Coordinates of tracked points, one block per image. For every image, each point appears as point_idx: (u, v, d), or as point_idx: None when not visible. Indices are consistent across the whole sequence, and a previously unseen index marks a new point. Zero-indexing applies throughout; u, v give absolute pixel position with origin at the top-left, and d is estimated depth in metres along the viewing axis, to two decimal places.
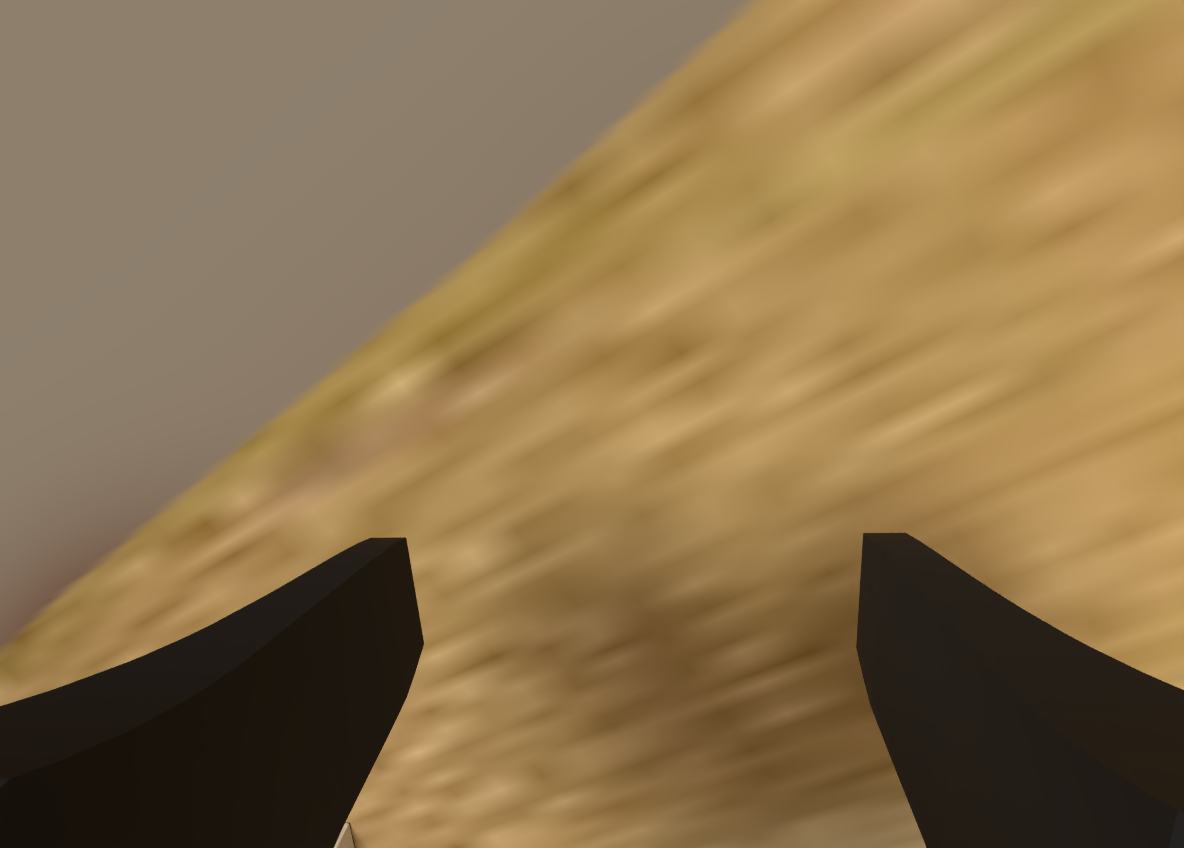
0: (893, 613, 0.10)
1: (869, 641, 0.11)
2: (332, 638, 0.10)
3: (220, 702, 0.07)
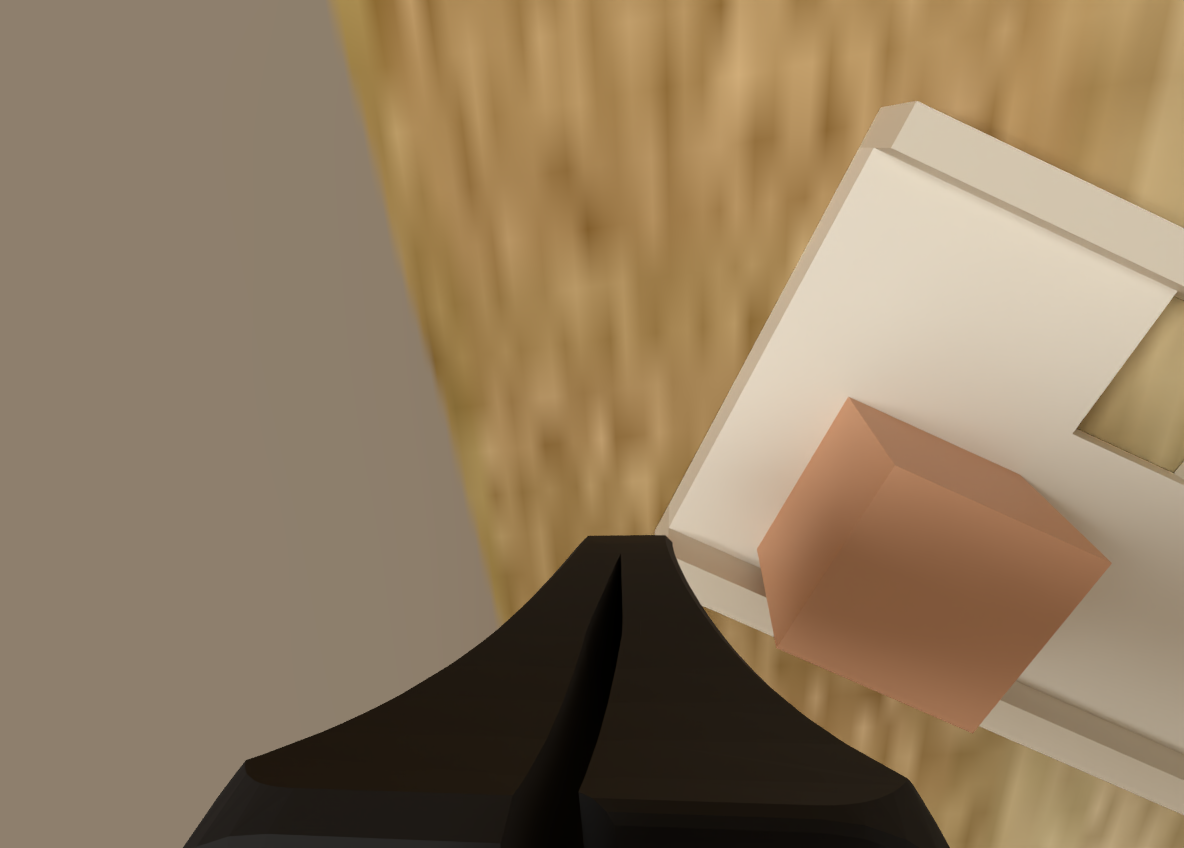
0: None
1: None
2: (603, 640, 0.09)
3: (570, 709, 0.07)
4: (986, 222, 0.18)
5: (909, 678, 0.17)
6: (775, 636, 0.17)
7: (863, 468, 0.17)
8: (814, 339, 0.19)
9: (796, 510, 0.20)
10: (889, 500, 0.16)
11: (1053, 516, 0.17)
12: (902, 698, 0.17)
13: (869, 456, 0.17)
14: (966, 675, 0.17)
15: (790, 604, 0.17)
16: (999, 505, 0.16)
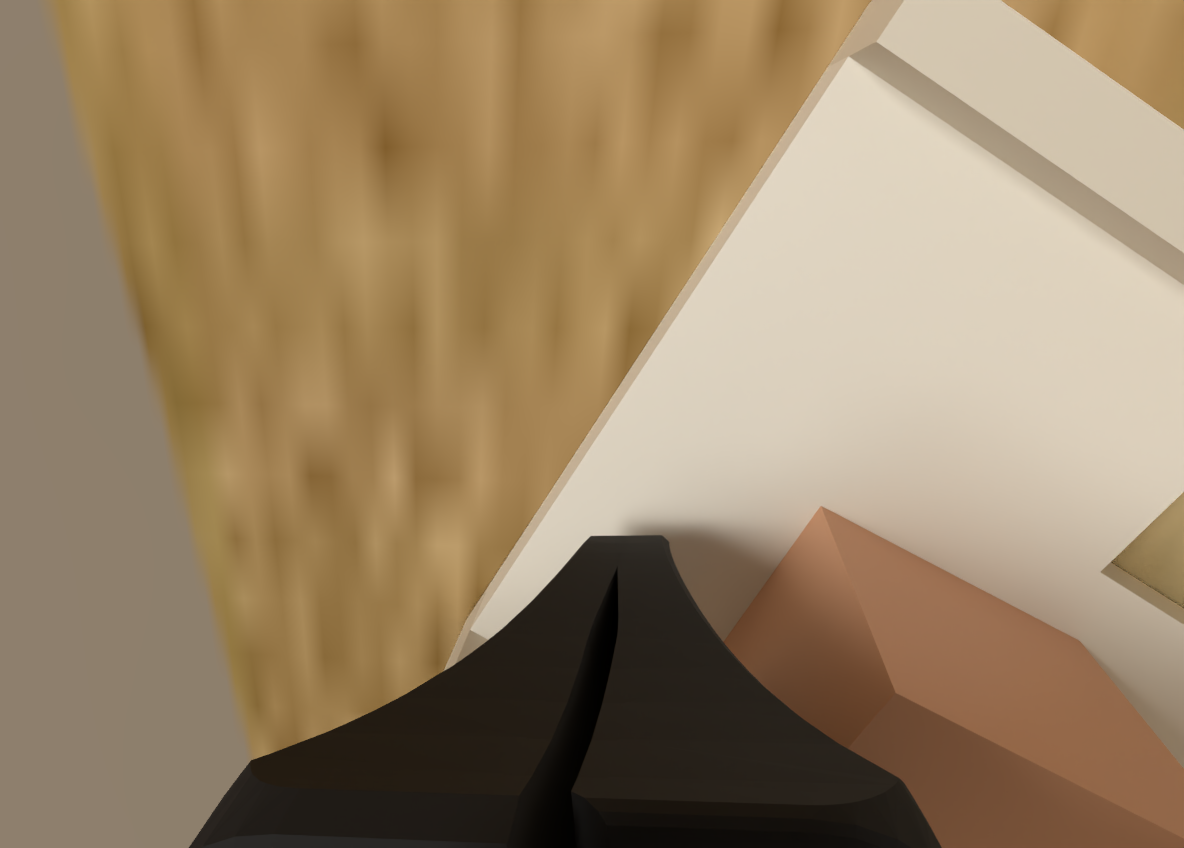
0: None
1: None
2: (606, 640, 0.09)
3: (574, 709, 0.07)
4: (1019, 214, 0.10)
5: None
6: None
7: (837, 663, 0.09)
8: (717, 372, 0.12)
9: None
10: (880, 749, 0.08)
11: (1155, 756, 0.10)
12: None
13: (847, 642, 0.09)
14: None
15: None
16: (1077, 759, 0.09)
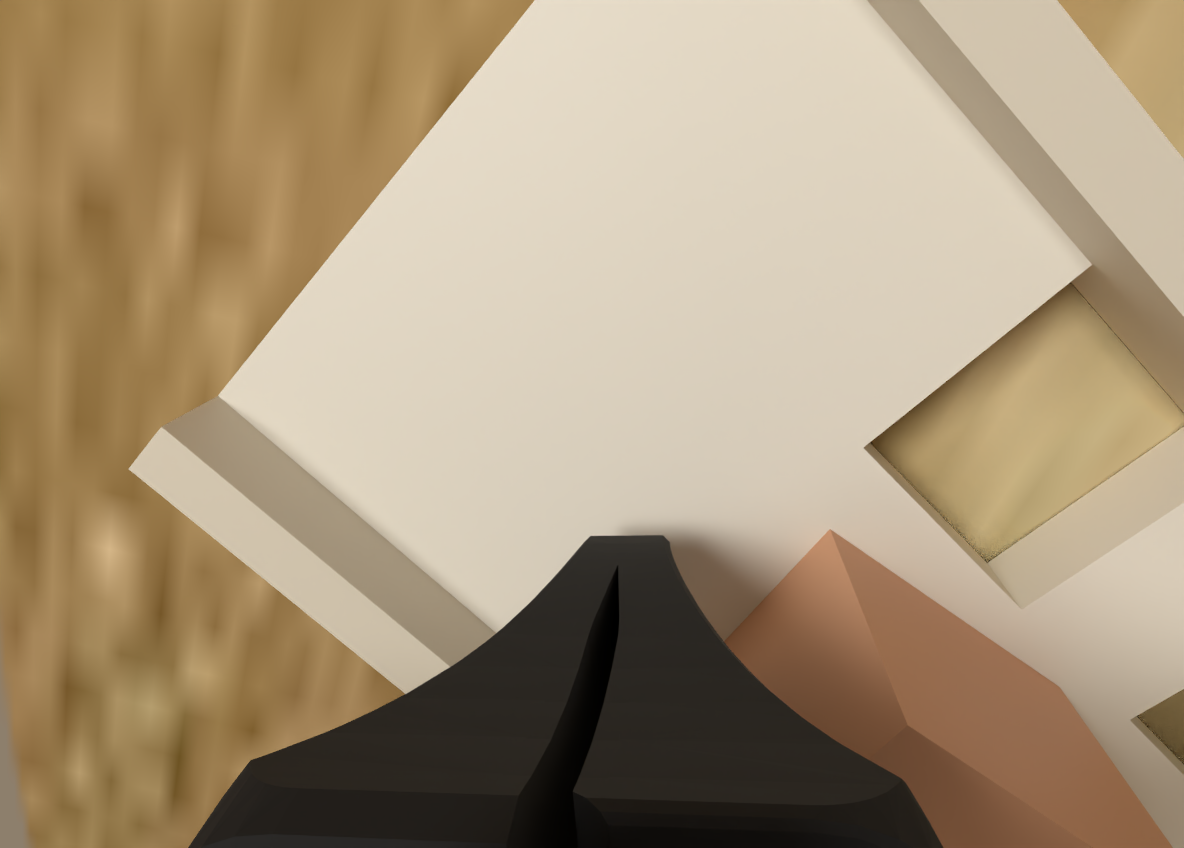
0: None
1: None
2: (606, 640, 0.09)
3: (573, 709, 0.07)
4: (841, 26, 0.10)
5: None
6: None
7: (842, 689, 0.10)
8: (513, 145, 0.11)
9: None
10: None
11: (1131, 808, 0.10)
12: None
13: (855, 668, 0.10)
14: None
15: None
16: (1065, 805, 0.09)
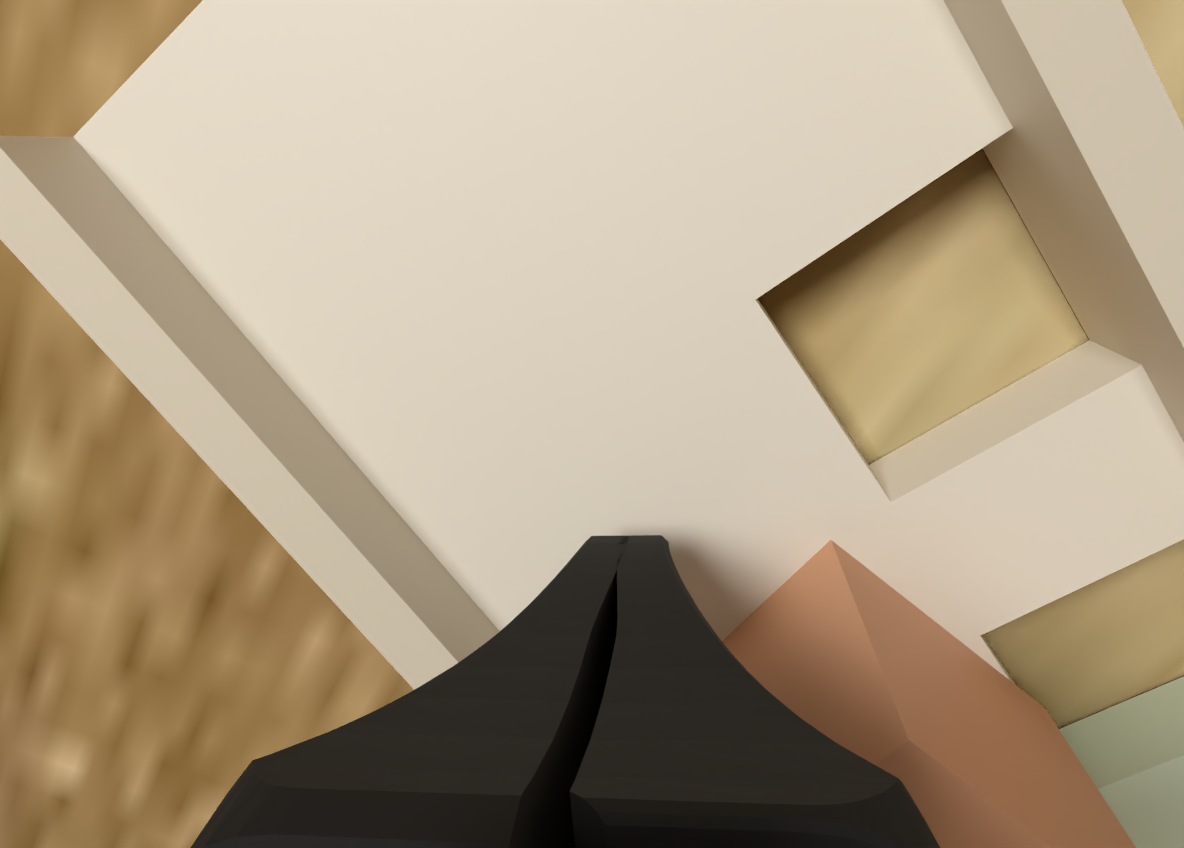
0: None
1: None
2: (607, 640, 0.09)
3: (575, 709, 0.07)
4: None
5: None
6: None
7: (841, 699, 0.10)
8: None
9: None
10: None
11: (1112, 830, 0.10)
12: None
13: (854, 679, 0.10)
14: None
15: None
16: (1054, 825, 0.09)
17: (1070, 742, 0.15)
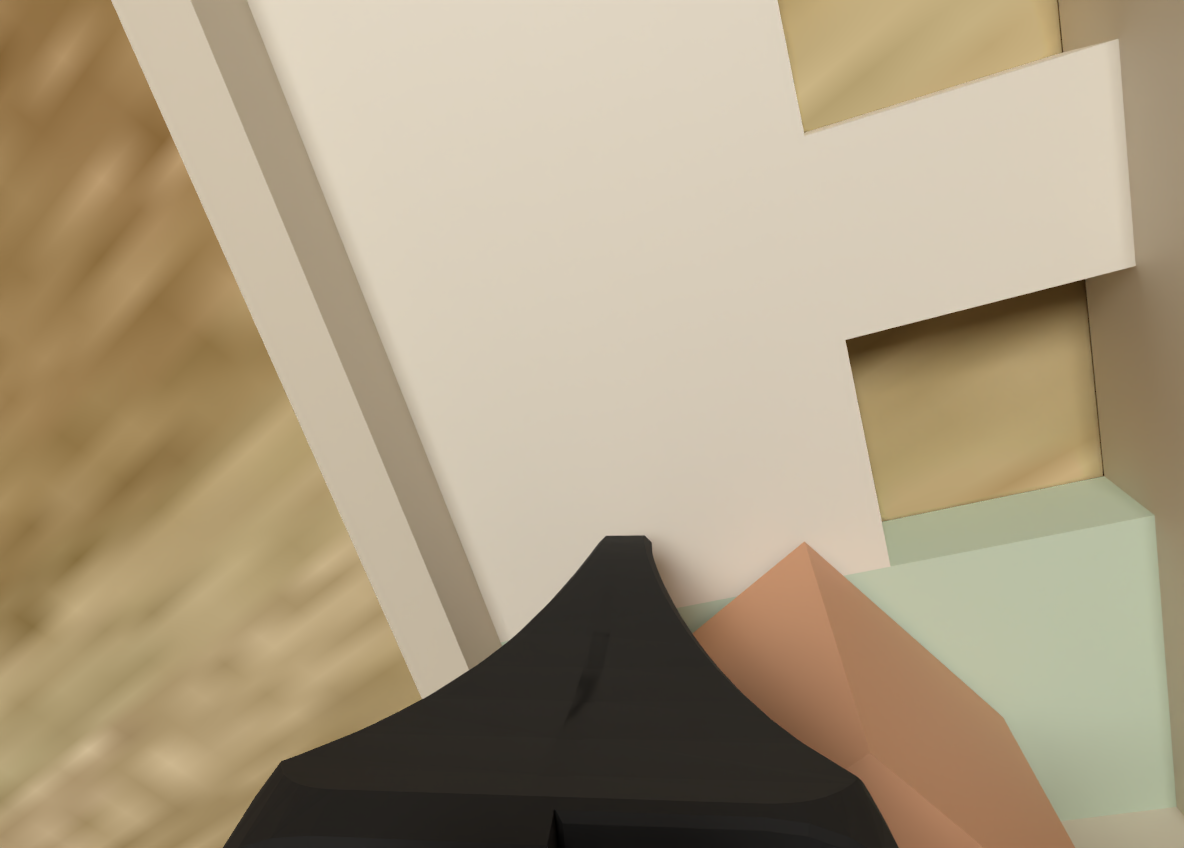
0: None
1: None
2: None
3: None
4: None
5: None
6: None
7: (804, 706, 0.10)
8: None
9: None
10: None
11: (1062, 844, 0.11)
12: None
13: (820, 687, 0.10)
14: None
15: None
16: (1006, 841, 0.09)
17: (888, 530, 0.14)
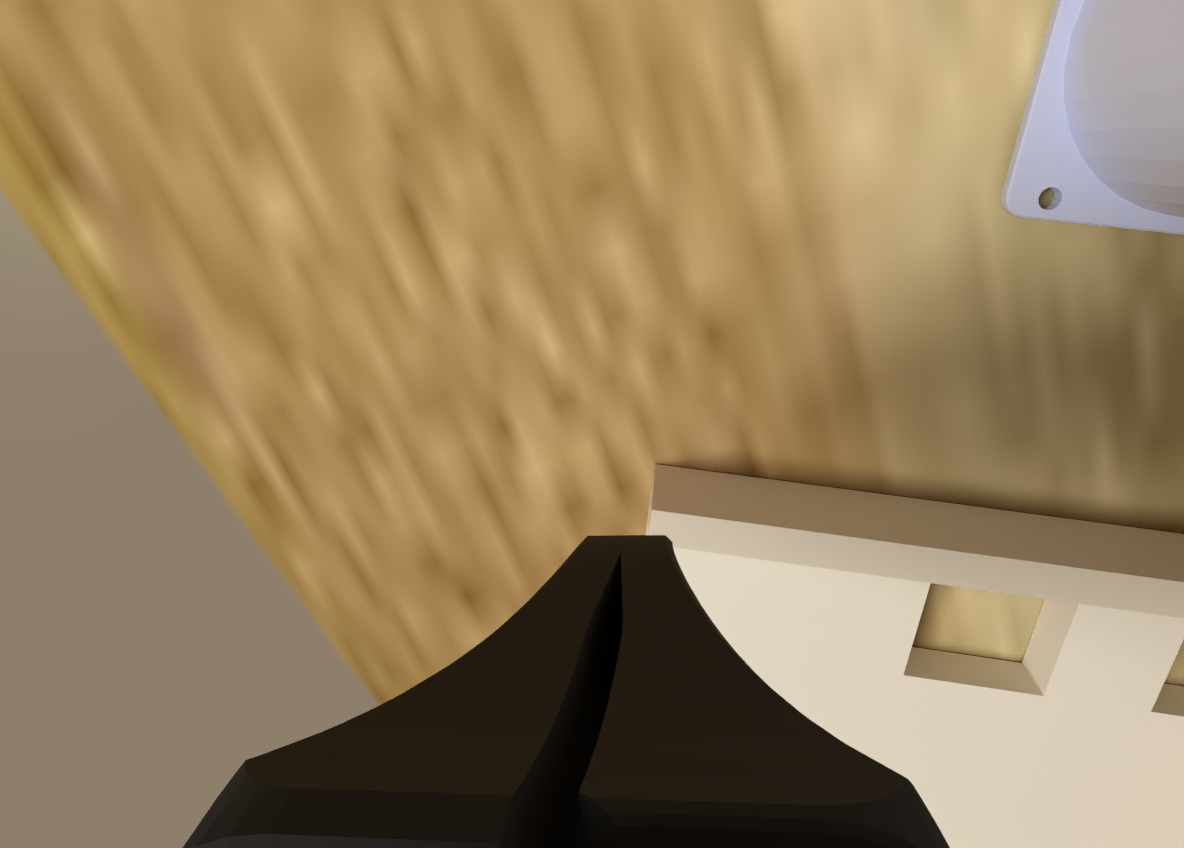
0: None
1: None
2: (603, 640, 0.09)
3: (569, 709, 0.07)
4: None
5: None
6: None
7: None
8: None
9: None
10: None
11: None
12: None
13: None
14: None
15: None
16: None
17: None
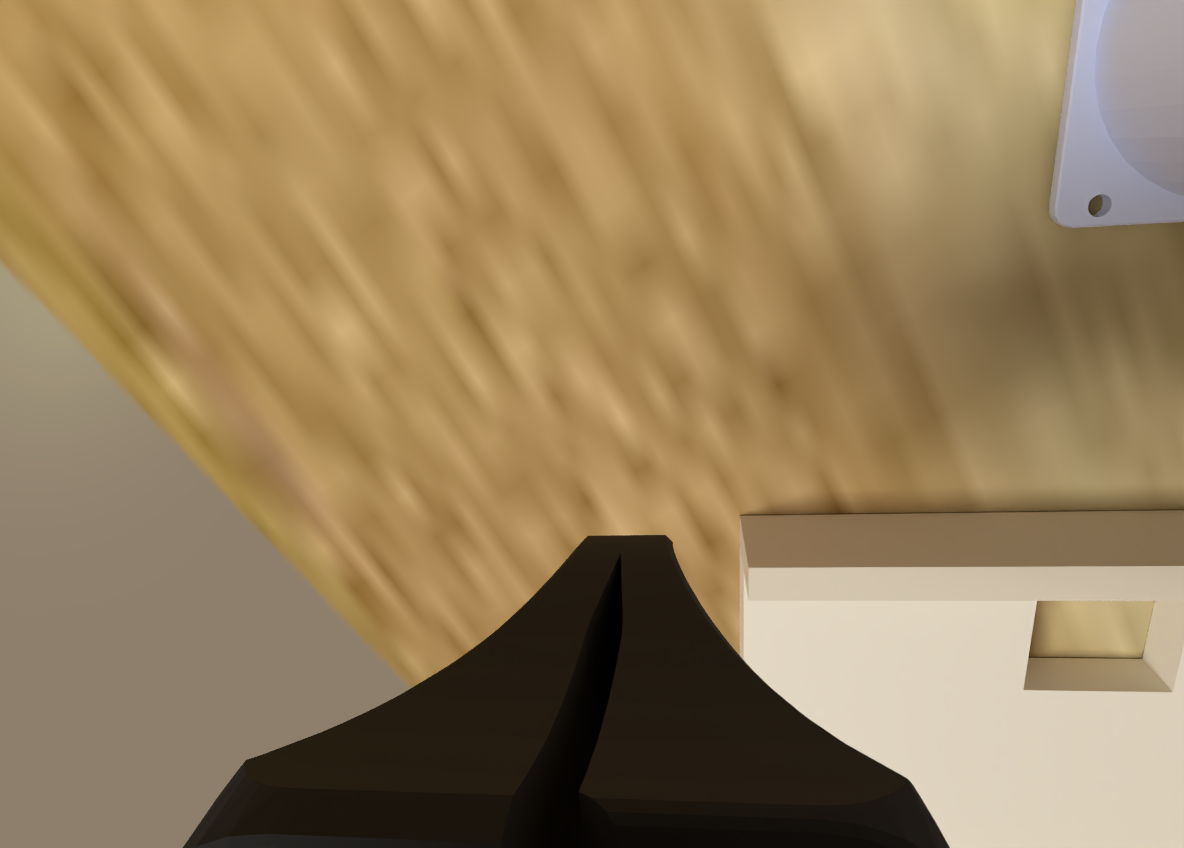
0: None
1: None
2: (603, 640, 0.09)
3: (570, 709, 0.07)
4: None
5: None
6: None
7: None
8: None
9: None
10: None
11: None
12: None
13: None
14: None
15: None
16: None
17: None
